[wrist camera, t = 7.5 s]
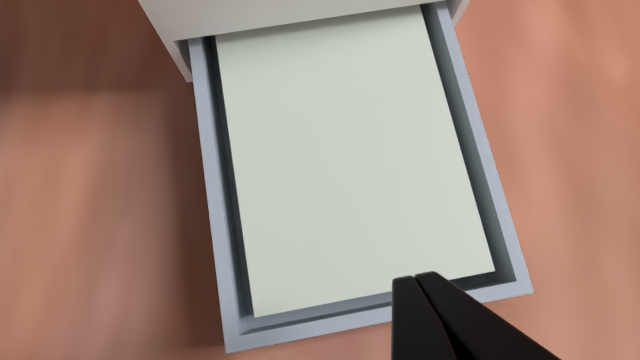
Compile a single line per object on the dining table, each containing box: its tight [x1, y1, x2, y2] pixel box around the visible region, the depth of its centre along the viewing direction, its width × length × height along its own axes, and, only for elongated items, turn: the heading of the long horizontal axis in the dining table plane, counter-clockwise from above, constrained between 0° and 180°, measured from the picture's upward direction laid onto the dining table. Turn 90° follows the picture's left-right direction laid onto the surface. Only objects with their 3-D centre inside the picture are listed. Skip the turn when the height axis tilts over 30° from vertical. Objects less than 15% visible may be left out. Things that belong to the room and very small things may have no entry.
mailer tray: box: [188, 0, 534, 354], centre depth 15 cm, size 12×9×2 cm
